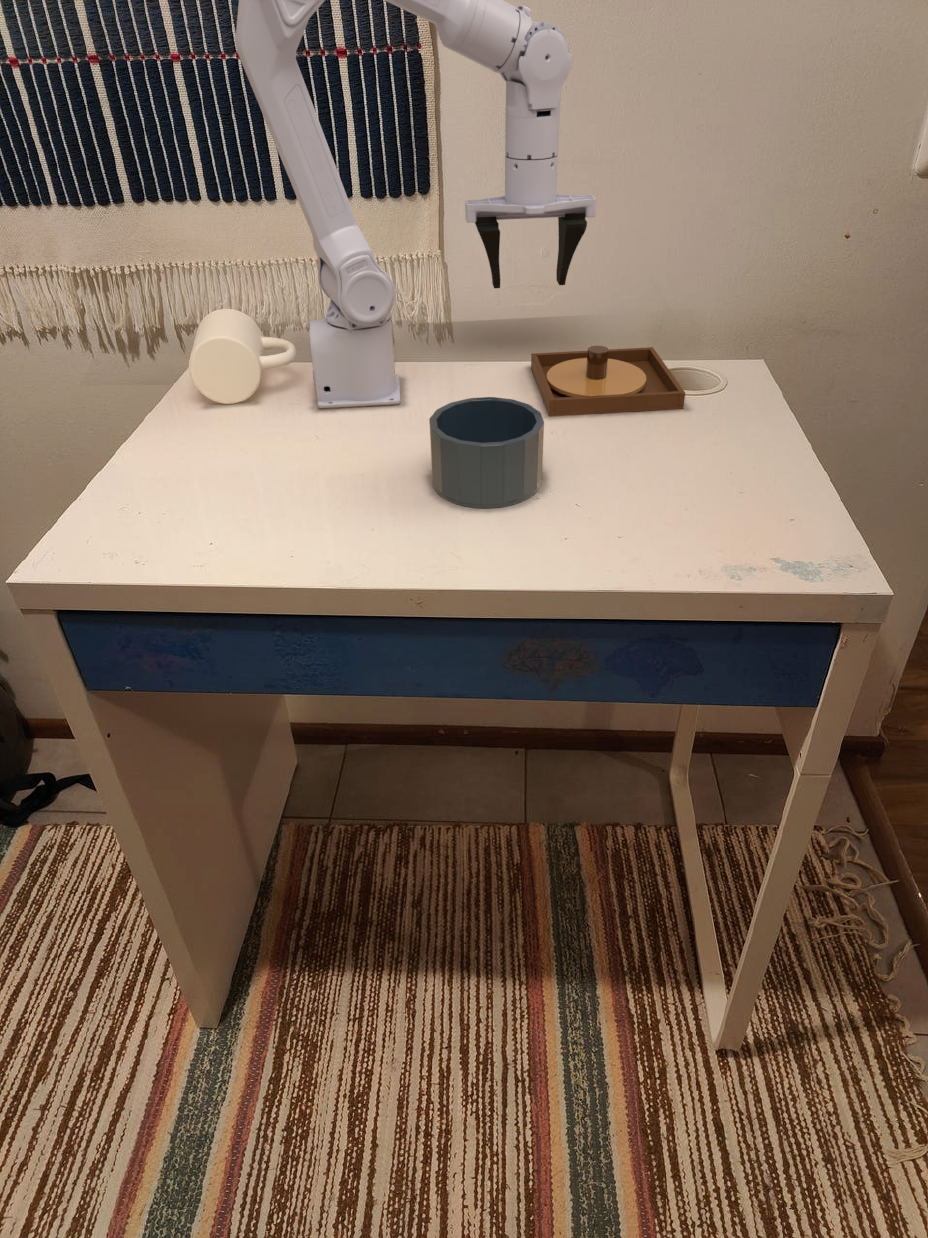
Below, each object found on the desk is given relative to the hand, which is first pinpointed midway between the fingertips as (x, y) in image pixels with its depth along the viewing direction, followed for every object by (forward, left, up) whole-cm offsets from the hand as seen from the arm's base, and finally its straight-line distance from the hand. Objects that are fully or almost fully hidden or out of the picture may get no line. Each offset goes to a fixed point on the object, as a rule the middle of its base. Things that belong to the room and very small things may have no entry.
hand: (528, 284), depth 102 cm
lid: (+7, -8, -9) cm, 14 cm away
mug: (-34, -2, -10) cm, 36 cm away
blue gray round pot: (-8, -29, -10) cm, 32 cm away
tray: (+8, -8, -10) cm, 15 cm away
